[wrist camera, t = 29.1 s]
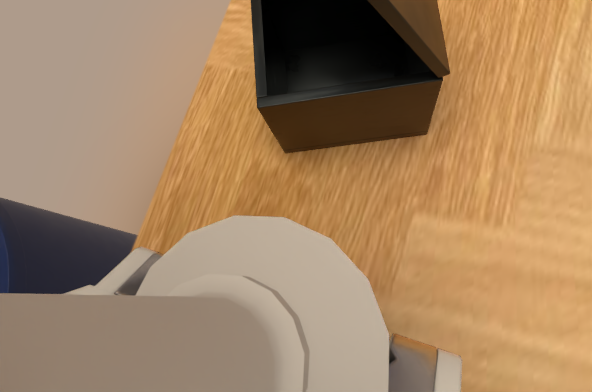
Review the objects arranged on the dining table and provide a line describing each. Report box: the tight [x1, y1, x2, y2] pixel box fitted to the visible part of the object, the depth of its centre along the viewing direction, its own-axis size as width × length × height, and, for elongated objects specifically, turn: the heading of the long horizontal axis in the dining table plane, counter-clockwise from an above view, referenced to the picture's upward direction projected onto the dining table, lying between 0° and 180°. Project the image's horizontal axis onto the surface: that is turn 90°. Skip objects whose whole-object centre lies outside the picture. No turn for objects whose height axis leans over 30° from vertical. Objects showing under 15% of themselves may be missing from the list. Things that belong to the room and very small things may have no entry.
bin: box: [251, 0, 443, 153], centre depth 35 cm, size 13×11×10 cm
